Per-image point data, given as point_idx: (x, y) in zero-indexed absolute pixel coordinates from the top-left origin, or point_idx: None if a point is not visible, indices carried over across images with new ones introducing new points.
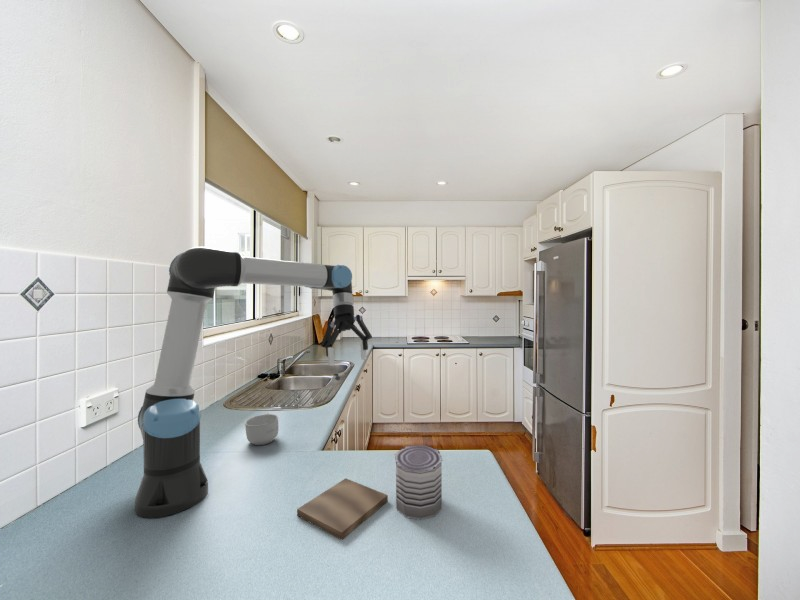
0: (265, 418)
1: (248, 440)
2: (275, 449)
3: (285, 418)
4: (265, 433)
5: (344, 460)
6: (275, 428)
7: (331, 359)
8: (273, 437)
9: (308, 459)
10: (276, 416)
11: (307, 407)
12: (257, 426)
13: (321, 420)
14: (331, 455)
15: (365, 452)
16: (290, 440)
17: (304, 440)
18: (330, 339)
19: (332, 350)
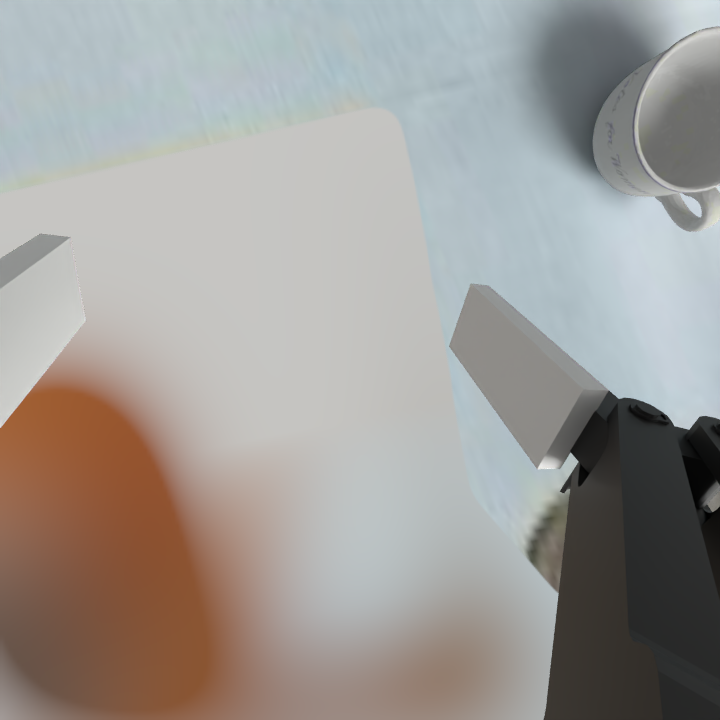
0: (699, 184)
1: (690, 77)
2: (554, 77)
3: (634, 370)
4: (637, 70)
5: (260, 40)
6: (612, 119)
7: (486, 331)
8: (597, 118)
9: (394, 17)
10: (651, 169)
11: None
12: (696, 31)
13: None
14: (324, 72)
15: (213, 127)
16: (531, 171)
17: (478, 183)
18: (655, 491)
19: (528, 421)
